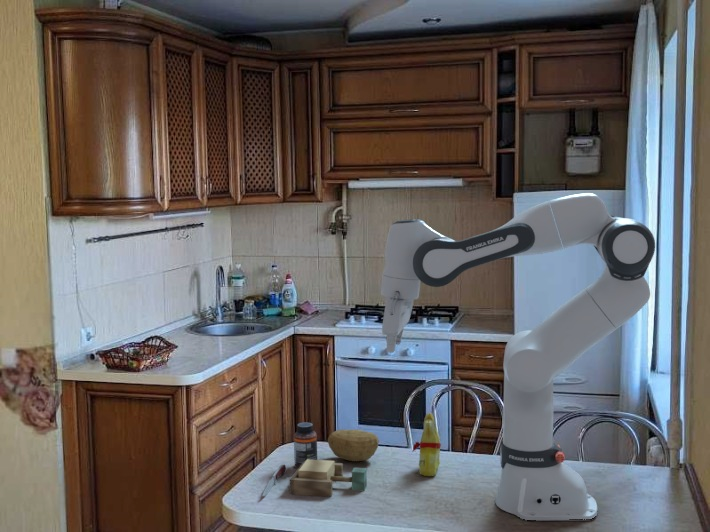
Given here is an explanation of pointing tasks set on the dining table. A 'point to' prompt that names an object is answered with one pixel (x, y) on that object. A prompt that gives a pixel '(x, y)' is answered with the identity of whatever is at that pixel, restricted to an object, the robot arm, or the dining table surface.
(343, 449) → the potato
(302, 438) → the supplement bottle
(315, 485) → the tan piece
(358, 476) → the oak block with dowel handle
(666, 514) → the dining table surface
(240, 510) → the dining table surface
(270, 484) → the knife
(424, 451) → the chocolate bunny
